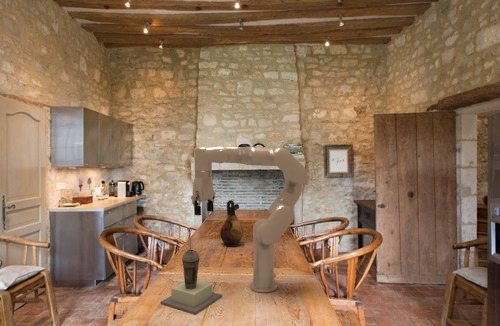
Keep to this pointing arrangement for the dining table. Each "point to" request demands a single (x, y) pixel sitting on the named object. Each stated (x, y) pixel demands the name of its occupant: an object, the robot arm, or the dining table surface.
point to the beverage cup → (190, 268)
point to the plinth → (191, 309)
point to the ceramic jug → (231, 227)
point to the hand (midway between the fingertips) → (204, 213)
